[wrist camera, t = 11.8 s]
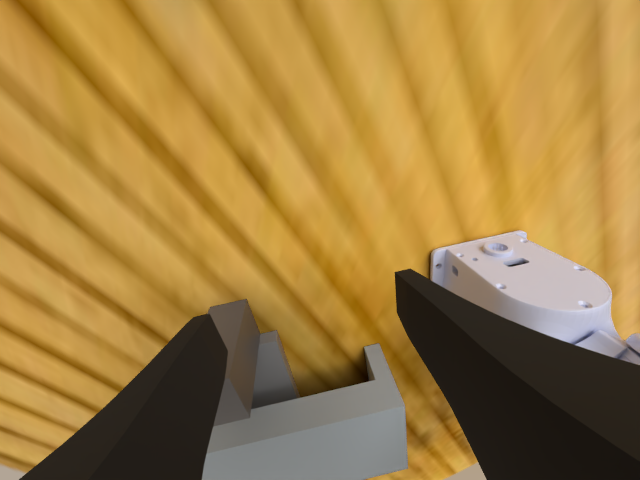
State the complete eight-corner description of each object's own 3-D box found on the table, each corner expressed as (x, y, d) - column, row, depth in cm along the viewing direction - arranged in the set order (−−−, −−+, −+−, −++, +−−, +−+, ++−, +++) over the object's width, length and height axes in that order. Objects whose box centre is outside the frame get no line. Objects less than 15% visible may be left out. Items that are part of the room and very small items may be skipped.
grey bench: (133, 400, 24) (88, 482, 18) (378, 343, 24) (405, 405, 19) (178, 453, 28) (152, 532, 23) (385, 403, 29) (407, 468, 23)
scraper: (191, 311, 20) (149, 396, 14) (264, 295, 20) (255, 371, 14) (263, 445, 29) (257, 532, 23) (312, 433, 30) (320, 516, 23)
